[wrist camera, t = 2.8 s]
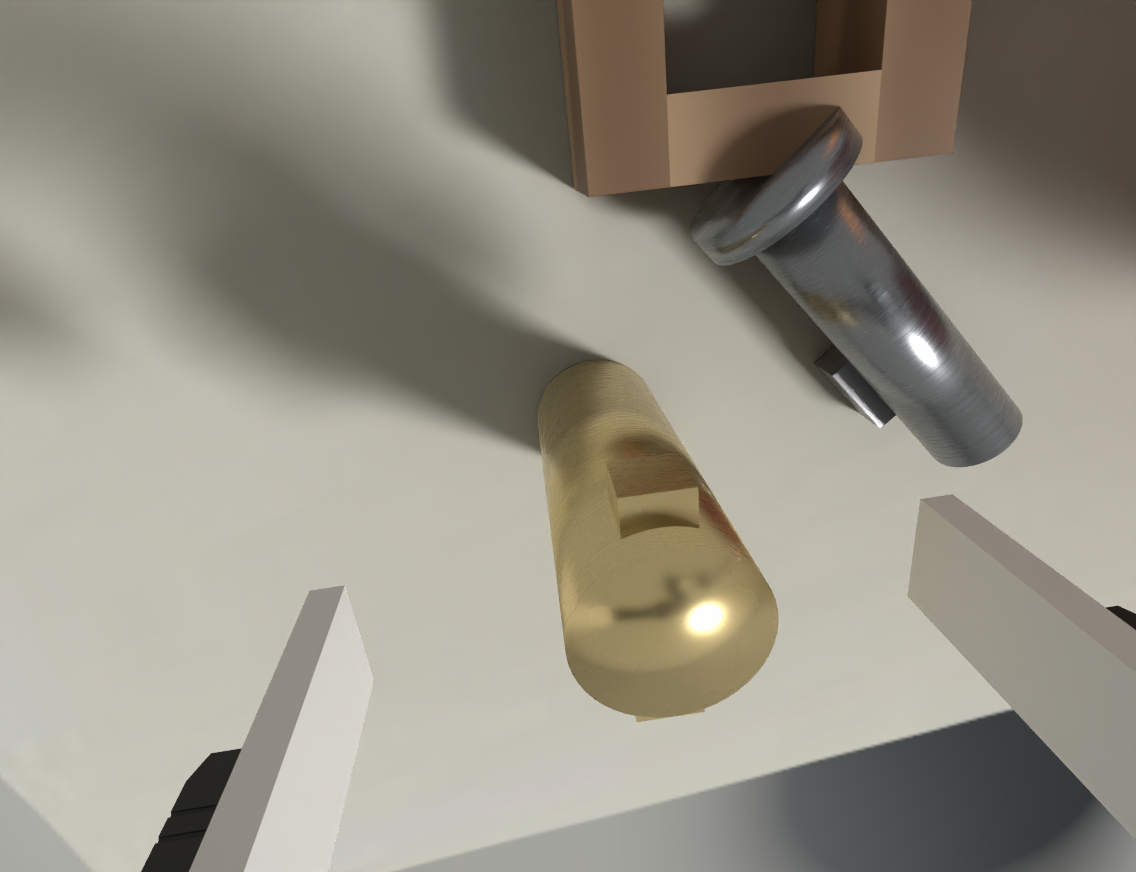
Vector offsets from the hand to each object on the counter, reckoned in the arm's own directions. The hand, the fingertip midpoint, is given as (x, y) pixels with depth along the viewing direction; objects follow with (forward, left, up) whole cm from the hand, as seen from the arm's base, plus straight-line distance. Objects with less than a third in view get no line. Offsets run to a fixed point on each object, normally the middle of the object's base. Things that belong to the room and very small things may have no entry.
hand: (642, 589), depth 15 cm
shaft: (-9, -4, -10) cm, 14 cm away
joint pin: (0, 0, -10) cm, 10 cm away
